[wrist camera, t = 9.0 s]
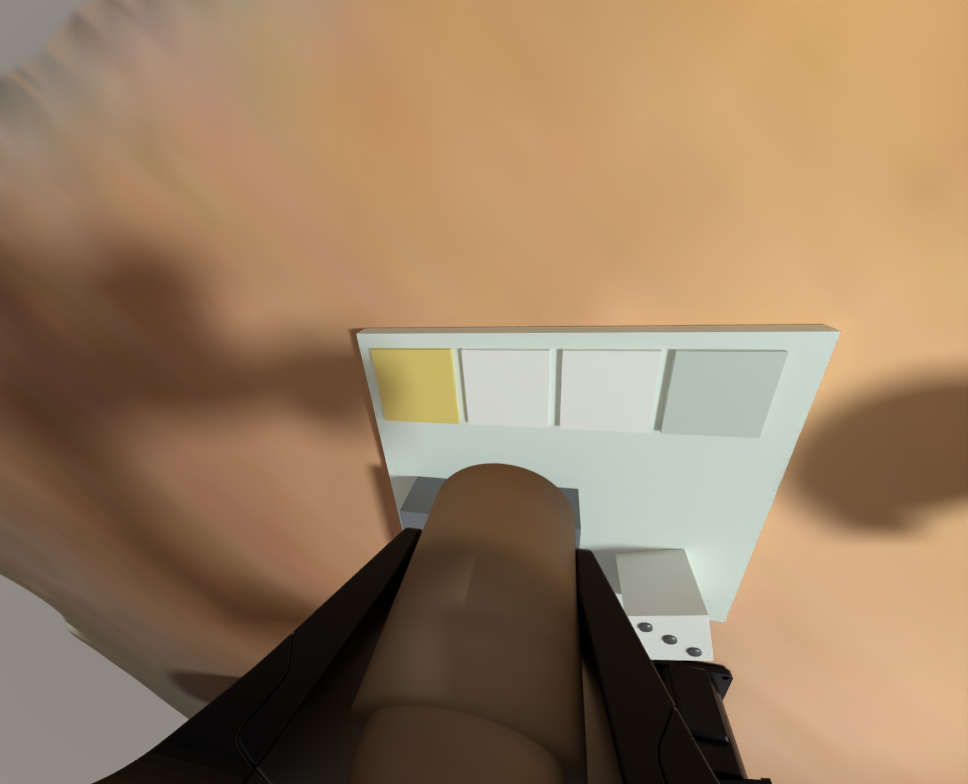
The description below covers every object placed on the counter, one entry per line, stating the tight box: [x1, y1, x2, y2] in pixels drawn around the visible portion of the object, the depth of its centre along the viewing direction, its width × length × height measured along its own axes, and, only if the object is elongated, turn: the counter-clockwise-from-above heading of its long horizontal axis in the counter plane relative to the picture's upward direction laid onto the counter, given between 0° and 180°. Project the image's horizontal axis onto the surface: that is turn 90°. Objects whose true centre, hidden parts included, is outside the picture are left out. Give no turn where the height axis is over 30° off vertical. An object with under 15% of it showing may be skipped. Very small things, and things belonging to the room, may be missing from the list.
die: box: [615, 549, 714, 661], centre depth 21 cm, size 4×4×4 cm
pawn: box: [346, 463, 588, 784], centre depth 7 cm, size 4×4×7 cm
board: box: [356, 325, 841, 622], centre depth 22 cm, size 20×22×1 cm
